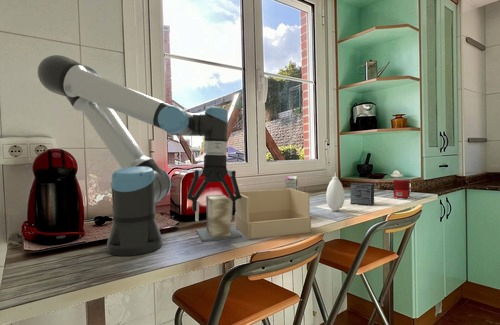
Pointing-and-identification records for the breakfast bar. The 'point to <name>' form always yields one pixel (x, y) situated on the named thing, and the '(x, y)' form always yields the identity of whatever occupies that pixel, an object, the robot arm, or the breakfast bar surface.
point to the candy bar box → (292, 182)
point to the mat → (207, 237)
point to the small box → (362, 193)
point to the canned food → (401, 187)
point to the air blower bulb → (335, 194)
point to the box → (218, 215)
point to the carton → (272, 213)
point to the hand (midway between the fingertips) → (213, 220)
